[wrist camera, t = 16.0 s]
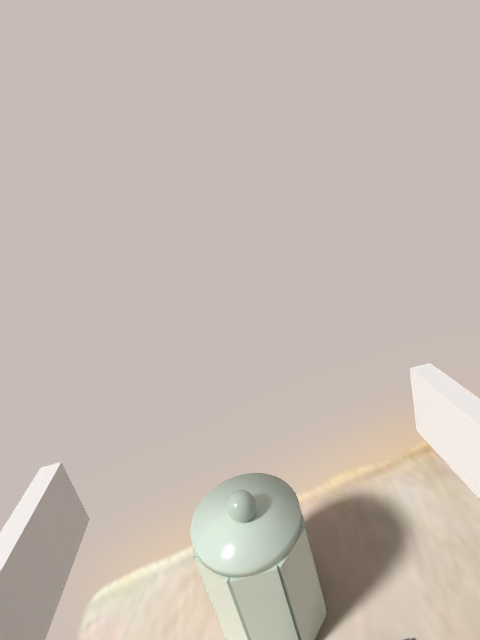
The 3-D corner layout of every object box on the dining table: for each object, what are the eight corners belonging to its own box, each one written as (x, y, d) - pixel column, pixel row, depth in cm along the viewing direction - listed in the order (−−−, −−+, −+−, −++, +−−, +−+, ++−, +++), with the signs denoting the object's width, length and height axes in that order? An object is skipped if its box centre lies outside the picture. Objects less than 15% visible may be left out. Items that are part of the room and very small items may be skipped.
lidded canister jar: (308, 547, 42) (281, 444, 37) (338, 648, 32) (307, 527, 28) (222, 570, 42) (185, 470, 37) (227, 679, 32) (179, 562, 28)
